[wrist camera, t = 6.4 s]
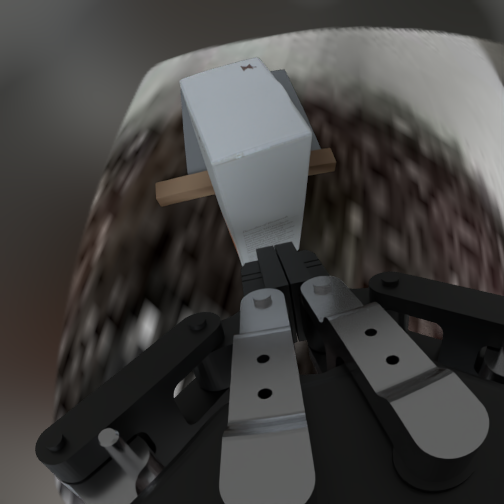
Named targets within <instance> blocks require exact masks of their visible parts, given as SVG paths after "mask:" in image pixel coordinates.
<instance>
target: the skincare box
mask: <svg viewBox="0 0 504 504" xmlns="http://www.w3.org/2000/svg"><path fill="white" fill-rule="evenodd" d="M180 86H181V89H182V92H183V96H184V99H185V102H186V106H187V109H188V112H189V115H190V118H191V122H192V125H193V128H194V131H195V134H196V137H197V140H198V143H199V146H200V149H201V153H202V156H203V159H204V162H205V165H206V168H207V171H208V174H209V177H210V180H211V183H212V186H213V189H214V191H215V194H216V197H217V200H218V203H219V206H220V208H221V211H222V214H223V216H224V219H225V222H226V224H227V227H228V230H229V232H230V235H231V237H232V240H233V242H234V245H235V248H236V250H237V253H238V255H239V258H240V261H241V264H242V266H244V264H245V263H247V262H252V261H257V260H258V258H257V254H256V249H258V248H262V247H267V246H272V245H273V247H274V245H276V244H281V243H286V242H291V241H292V243H293V244H294V246H295V248H296V250H299V245H300V237H301V229H302V221H303V213H304V206H305V197H306V188H307V180H308V170H309V161H310V151H311V142H312V131H311V129H310V127H309V126H308V124H307V123H306V121H305V120H304V118H303V117H302V115H301V114H300V113H299V111H298V110H297V108H296V107H295V105H294V104H293V102H292V101H291V99H290V97H289V95H288V93H287V92H286V90H285V89H284V87H283V86H282V85H281V83H280V82H278V81H277V80H276V79H275V77H274V76H273V74H272V73H271V72H270V71H269V70H268V68H267V67H266V66H265V64H264V63H263V62H262V61H261V59H260V58H258V57H256V58H251V59H247V60H243V61H239V62H235V63H232V64H228V65H224V66H221V67H217V68H214V69H210V70H207V71H203V72H200V73H197V74H194V75H192V76H189V77H186V78H183V79H181V80H180ZM274 249H275V248H274Z"/></svg>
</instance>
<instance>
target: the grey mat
mask: <svg viewBox="0 0 504 504" xmlns="http://www.w3.org/2000/svg"><path fill="white" fill-rule="evenodd" d="M270 72H271V73H272V74H273V76H274V77H275V79H276V80H277V81H278V82H280V83H281V85H282V86H283V87H284V89H285V90H286V92H287V93H288V95H289V97H290V99H291V101H292V102H293V104H294V105H295V107H296V108H297V110H298V111H299V113H300V114H301V115H302V117H303V118H304V120H305V121H306V123H307V124H308V126H309V127H310V129H311V131H312V142H311V151H312V150H319V149H321V148H320V146H319V143H318V141H317V139H316V136H315V134H314V132H313V130H312V127H311V125H310V123H309V121H308V118H307V116H306V114H305V112H304V109H303V107H302V105H301V103H300V101H299V99H298V97H297V94H296V92H295V90H294V88H293V86H292V84H291V82H290V80H289V78H288V76H287V74H286V72H285V70H276V71H270ZM181 102H182V116H183V128H184V139H185V150H186V161H187V171H188V175H191V174H195V173H199V172H203V171H207V168H206V165H205V162H204V159H203V156H202V153H201V149H200V146H199V143H198V140H197V137H196V134H195V131H194V128H193V125H192V122H191V118H190V115H189V112H188V109H187V106H186V102H185V99H184V96H183V92H182V89H181Z"/></svg>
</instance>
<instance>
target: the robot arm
mask: <svg viewBox="0 0 504 504" xmlns="http://www.w3.org/2000/svg"><path fill="white" fill-rule="evenodd" d="M274 248H275V249H274ZM256 254H257V258H258V260H257V261H252V262H247V263H245V264H244V266H243V267H242V269H241V275H242V283H243V292H244V298H243V299H242V301H241V310H240V311H239V312H238V313H236V314H235V315H233V316H231V317H229V318H227V319H224V320H222V321H221V320H220V318H219V316H218V315H216V314H214V313H211V312H201V313H196V314H193V315H191V316H188V317H187V318H185V319H184V320H182V321H181V322H180V323H178V324H177V325H176V326H175V327H174V328H172V329H171V330H170V331H169V332H167V333H166V334H165V335H164V336H162V337H161V338H160V339H159V340H157V341H156V342H155V343H154V344H152V345H151V346H150V347H149V348H148V349H146V350H145V351H144V352H143V353H141V354H140V355H139V356H138V357H136V358H135V359H134V360H133V361H131V362H130V363H129V364H128V365H126V366H125V367H124V368H123V369H121V370H120V371H119V372H118V373H116V374H115V375H114V376H113V377H111V378H110V379H109V380H108V381H106V382H105V383H104V384H103V385H101V386H100V387H99V388H98V389H96V390H95V391H94V392H93V393H91V394H90V395H89V396H88V397H86V398H85V399H84V400H83V401H81V402H80V403H79V404H78V405H76V406H75V407H74V408H72V409H71V410H70V411H69V412H67V413H66V414H65V415H64V416H62V417H61V418H60V419H59V420H57V421H56V422H55V423H54V424H52V425H51V426H50V427H48V428H47V429H46V430H45V431H44V432H43V433H42V434H41V435H40V437H39V438H38V440H37V443H36V448H35V451H36V455H37V457H38V459H39V460H40V461H41V462H42V463H43V464H44V465H45V466H46V467H47V468H48V469H49V470H50V471H51V472H52V473H54V474H55V476H56V477H57V479H58V480H59V481H61V482H62V483H63V484H64V485H65V486H66V487H67V488H69V489H70V490H71V491H72V492H73V493H75V494H76V495H77V496H78V497H80V498H81V499H82V500H83V501H84V502H85V503H86V504H504V296H501V295H496V294H492V293H487V292H483V291H479V290H474V289H470V288H466V287H461V286H457V285H452V284H448V283H443V282H439V281H435V280H430V279H426V278H421V277H417V276H412V275H408V274H403V273H398V272H383V273H379V274H377V275H375V276H373V277H372V278H371V279H370V281H369V288H361V289H349V288H348V287H347V286H346V285H345V284H344V283H343V282H342V281H341V280H340V279H339V278H336V277H333V276H330V275H329V274H328V272H327V271H326V269H325V268H324V266H323V265H322V263H321V262H320V260H319V259H318V258H317V256H316V255H315V253H312V252H310V251H308V250H304V251H299V252H298V251H297V250H296V248H295V246H294V244H293V243H292V241H291V242H286V243H281V244H276V245H274V247H273V245H272V246H267V247H262V248H258V249H256ZM409 316H413V317H417V318H420V319H424V320H427V321H431V322H434V323H437V324H438V325H439V326H440V327H441V328H442V330H443V339H442V340H439V339H435V338H432V337H429V336H425V335H422V334H419V333H415V332H412V331H409V330H408V323H409ZM296 333H297V336H298V339H299V341H304V340H307V342H308V348H309V355H310V358H311V360H312V362H313V364H314V366H315V368H316V370H317V372H318V374H313V375H299V374H298V368H297V362H296V356H295V346H294V343H296V342H297V336H296ZM192 370H193V372H194V374H195V377H196V378H195V379H194V380H193V381H192V382H191V383H190V384H189V385H188V386H187V387H186V388H184V389H183V390H182V391H181V392H180V393H179V394H178V395H177V396H176V397H175V398H174V390H175V388H176V386H177V384H178V383H179V382H180V381H181V380H183V379H184V378H185V377H186V376H187V375H188V374H189V373H190V372H191V371H192Z"/></svg>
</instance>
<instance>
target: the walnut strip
mask: <svg viewBox="0 0 504 504" xmlns="http://www.w3.org/2000/svg"><path fill="white" fill-rule="evenodd" d="M335 166H336V160H335V158H334V155H333V153H332V151H331V149H330V148H326V149H319V150H312V151H310V161H309V170H308V176H309V175H315V174H321V173H327V172H333V171H335ZM213 194H215V191H214V189H213V186H212V183H211V180H210V177H209V174H208V171H203V172H199V173H195V174H191V175H186V176H182V177H178V178H174V179H170V180H166V181H162V182H158V183H156V199H157V201H158V202H159V204H160V206H161V207H162V206H166V205H170V204H174V203H179V202H183V201H187V200H191V199H196V198H200V197H204V196H209V195H213Z"/></svg>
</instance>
